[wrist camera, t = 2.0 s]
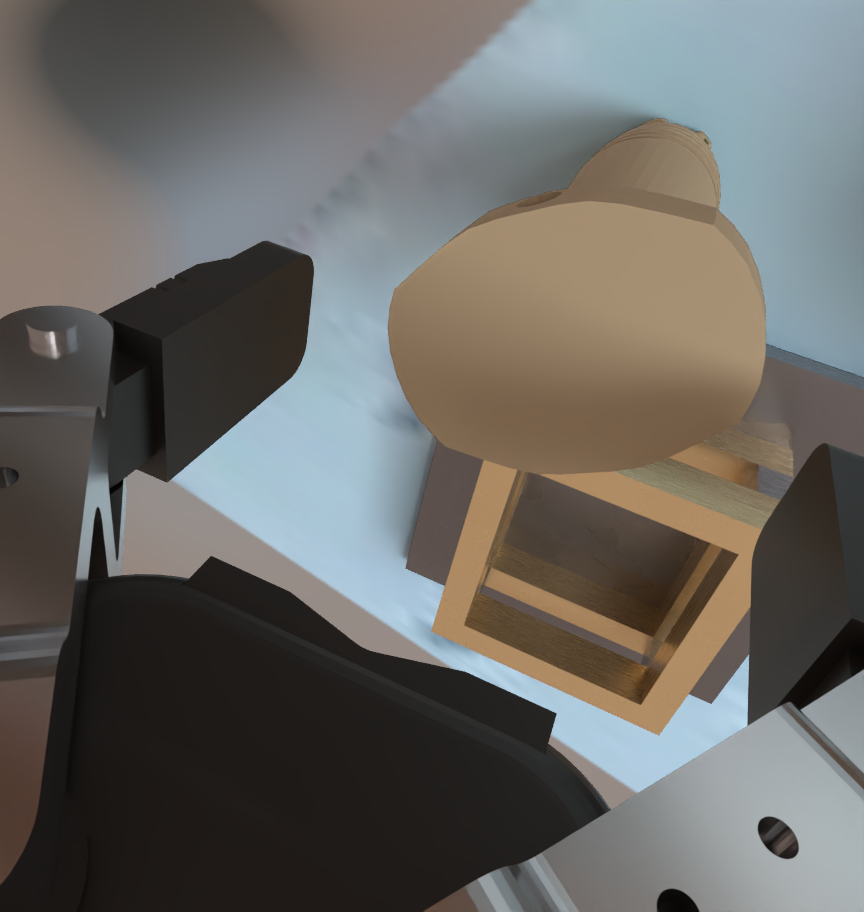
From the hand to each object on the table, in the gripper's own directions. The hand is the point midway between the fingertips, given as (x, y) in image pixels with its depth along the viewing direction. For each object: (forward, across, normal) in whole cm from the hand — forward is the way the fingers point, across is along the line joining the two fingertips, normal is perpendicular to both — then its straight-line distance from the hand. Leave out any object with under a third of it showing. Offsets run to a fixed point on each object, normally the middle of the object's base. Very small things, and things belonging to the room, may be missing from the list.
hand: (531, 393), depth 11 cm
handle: (+17, 0, 0) cm, 17 cm away
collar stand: (+17, -3, +13) cm, 21 cm away
